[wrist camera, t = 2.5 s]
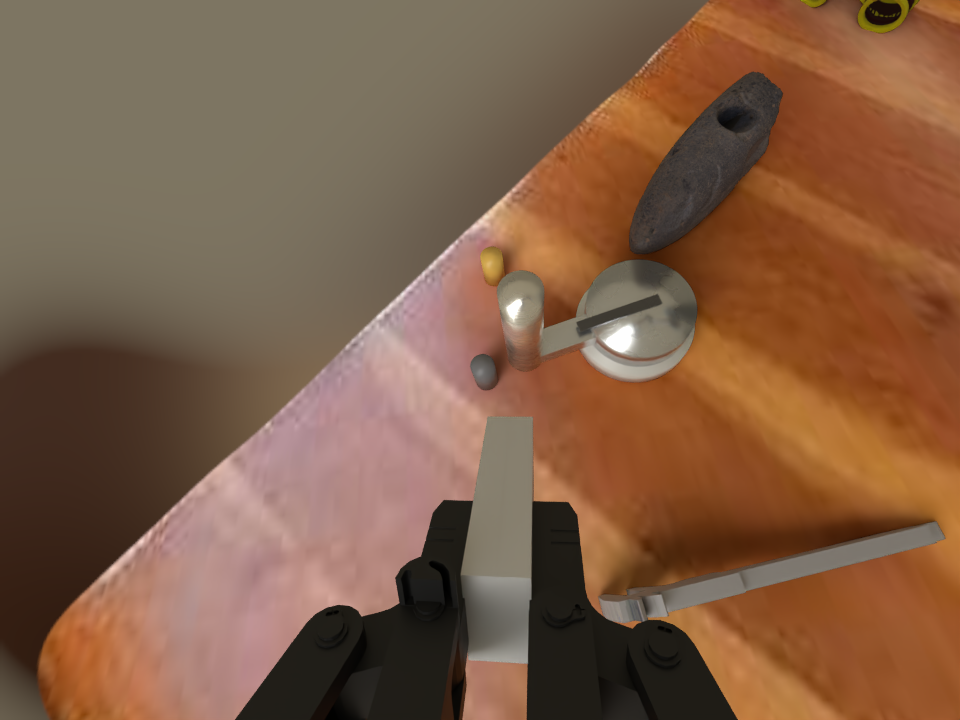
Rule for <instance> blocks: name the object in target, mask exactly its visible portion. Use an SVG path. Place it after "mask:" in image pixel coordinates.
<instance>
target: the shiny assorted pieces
mask: <svg viewBox="0 0 960 720" xmlns="http://www.w3.org/2000/svg"><path fill="white" fill-rule="evenodd" d="M480 258H481V263H482V268H483V273H484V278H485V281H486V283H487V284H488V285H490V286H498V285H499V283H500V281H501V280H502V278H503V277H505V271H504V264H503V256H502V252H501V250H500V249H498V248H496V247H488V248H486V249H484V250H483V251H482V253H481V256H480ZM589 289H590V288H589ZM589 289H588V290H587V291H586V292H585V294H584V295H583V297H582V299H581V300H580V303H579V305H578V309H577V313H576V317H578V316H581V315H584V309H585V304H586V299H587V294H588V291H589ZM694 332H695V325H694V328H693V330H692V332H691V333H690V335H689V336H688V337H687V339H686V340H685V342H684V343H683V344H682V346H681V347H680V349H679V350H678V351H677V352H676V353H675V354H674V355H673V356H671V357H670V358H669V359H667V360H665V361H663V362H661V363H658V364H655V365H652V366H646V367H632V366H626V365H622V364H619V363H616V362H614V361H612V360H610V359H608V358H607V357H605V356H604V355H602V354H601V353H600V352H599V351H598V350H597V349H596V348H595V347H594V346H593V345H591V346H588V347H585V348H582V349H580V352H581V354H582V355H583V357H584V358H585V359H586V361H587V362H588V363H589V364H590V365H591V366H592V367H593V368H595V369H596V370H597V371H599V372H600V373H602V374H604V375H606V376H608V377H610V378H613V379H615V380H619V381H624V382H646V381H650V380H654V379H657V378H659V377H661V376H663V375H665V374H667V373H668V372H670V371H671V370H672V369H673V368H674V367H675V366H676V365H677V364H678V363H679V362H680V361H681V359H682V358H683V357H684V355H685V354H686V352H687V351H688V350H689V348H690V346H691V343H692V341H693V337H694ZM471 370H472V373H473V376H474V378H475V381H476V383H477V385H478V387H479V388H481V389H483V390H491V389H493V388H494V387H495V386H496V385H497V383H498V376H497V372H496V368H495V364H494V361H493V359H492V358H491V357H490V356H488V355H486V354H480V355H477V356H476V357H474V358H473V360H472V361H471Z"/></svg>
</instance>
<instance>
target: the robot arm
mask: <svg viewBox="0 0 960 720" xmlns="http://www.w3.org/2000/svg"><path fill="white" fill-rule="evenodd" d="M395 579H396V585H397V590H398V596H399V602H400V603H399V604H398V605H396V606H394V607H392V608H391V609H388V610H385V611H382V612H379V613H375V614H371V615H367V616H363V617H361V615H360V614H359V612H358V611H357V610H356V609H354V608H352V607H350V606H344V605H336V606H332V607H328V608H325V609H324V610H322V611H320V612H318V613H317V614H315V615H314V616H313V617H312V618H311V619H310V620H309V621H308V622H307V623H306V625H305V626H304V627H303V629H302V630H301V631H300V633H299V634H298V635H297V637H296V638H295V639H294V641H293V642H292V643H291V645H290V646H289V647H288V649H287V650H286V652H285V653H284V654H283V656H282V657H281V658H280V660H279V661H278V662H277V664H276V665H275V666H274V668H273V669H272V670H271V672H270V673H269V675H268V676H267V677H266V679H265V680H264V681H263V683H262V684H261V685H260V687H259V688H258V689H257V691H256V692H255V693H254V695H253V696H252V697H251V699H250V700H249V702H248V703H247V704H246V706H245V707H244V708H243V710H242V711H241V712H240V714H239V715H238V716H237V718H236V719H235V720H462V717H463V709H464V701H465V693H466V672H465V667H466V659H467V652H468V657H469V660H477V661H493V662H508V663H524V664H528V677H527V720H738V719H737V718H736V716H735V714H734V712H733V711H732V709H731V707H730V705H729V704H728V702H727V700H726V698H725V697H724V695H723V693H722V691H721V690H720V688H719V686H718V684H717V683H716V681H715V679H714V677H713V676H712V674H711V672H710V671H709V669H708V667H707V665H706V664H705V662H704V660H703V658H702V657H701V655H700V653H699V651H698V650H697V648H696V646H695V644H694V643H693V642H692V641H691V639H690V638H689V637H688V636H687V634H686V633H685V632H683V631H682V630H680V629H679V628H677V627H676V626H675V625H673V624H670V623H667V622H664V621H661V620H646V621H644V622H641V623H639V624H637V625H636V626H635V627H634V628H633V629H632V628H629V627H626V626H623V625H620V624H617V623H615V622H613V621H611V620H608V619H606V618H605V617H603V616H602V615H601V614H599V613H598V612H597V611H596V610H595V609H594V608H593V606H592V605H591V603H590V602H589V600H588V598H587V594H586V590H585V581H584V572H583V563H582V554H581V546H580V536H579V527H578V518H577V514H576V513H575V511H574V510H573V508H572V507H571V506H570V504H569V503H568V502H540V501H534V472H533V417H488V418H487V424H486V430H485V436H484V441H483V447H482V453H481V459H480V465H479V471H478V476H477V482H476V488H475V494H474V500H473V501H455V500H443V502H442V503H441V504H440V505H439V506H438V507H437V509H436V510H435V511H434V512H433V515H432V519H431V522H430V526H429V530H428V533H427V537H426V541H425V544H424V548H423V552H422V555H421V557H419V558H416V559H414V560H412V561H409V562H408V563H407V564H406V565H405V566H403V567H402V568H401V569H400V571H399V573H398V574H397V576H396V578H395Z"/></svg>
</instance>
